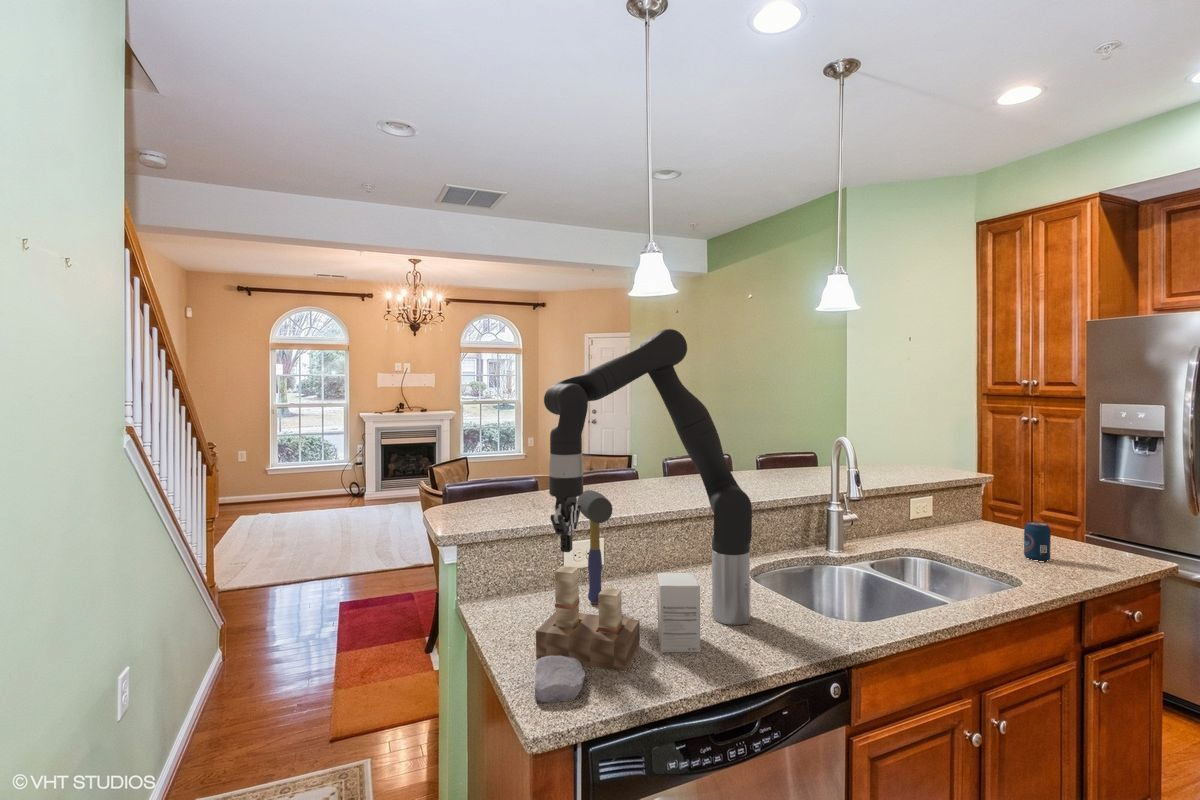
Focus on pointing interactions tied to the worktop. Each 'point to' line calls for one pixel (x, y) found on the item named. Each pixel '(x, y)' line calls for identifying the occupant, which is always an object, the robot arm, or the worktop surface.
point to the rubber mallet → (594, 536)
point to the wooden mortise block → (590, 642)
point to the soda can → (1037, 541)
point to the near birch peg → (610, 611)
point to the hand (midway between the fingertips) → (566, 551)
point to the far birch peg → (567, 597)
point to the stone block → (558, 678)
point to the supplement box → (678, 612)
